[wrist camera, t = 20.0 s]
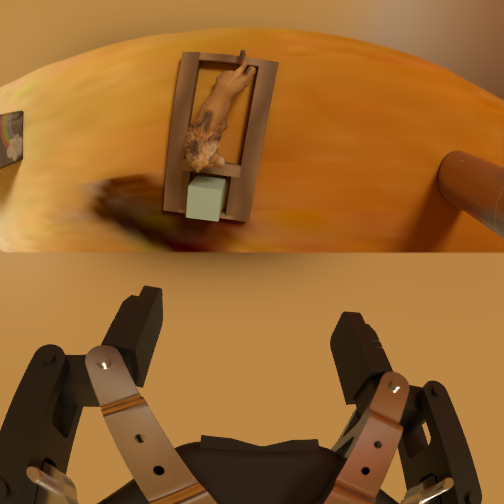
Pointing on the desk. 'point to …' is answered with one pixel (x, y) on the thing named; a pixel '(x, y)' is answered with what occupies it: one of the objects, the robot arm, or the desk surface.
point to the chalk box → (11, 138)
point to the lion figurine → (215, 118)
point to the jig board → (240, 173)
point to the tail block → (205, 197)
